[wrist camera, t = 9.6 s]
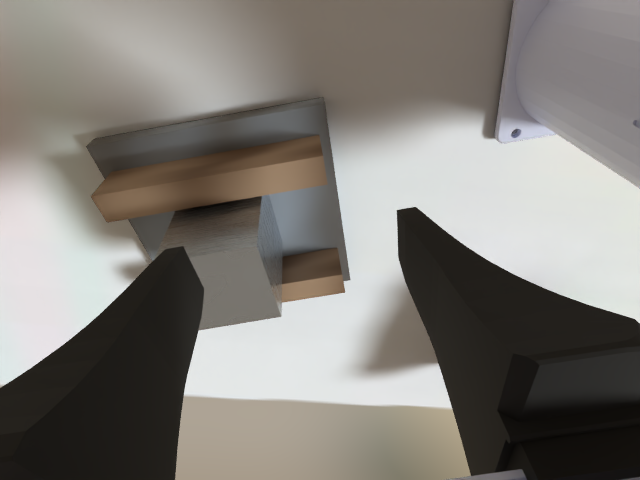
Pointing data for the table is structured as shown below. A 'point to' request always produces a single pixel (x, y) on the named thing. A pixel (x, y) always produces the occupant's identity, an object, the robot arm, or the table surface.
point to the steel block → (232, 258)
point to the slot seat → (235, 183)
